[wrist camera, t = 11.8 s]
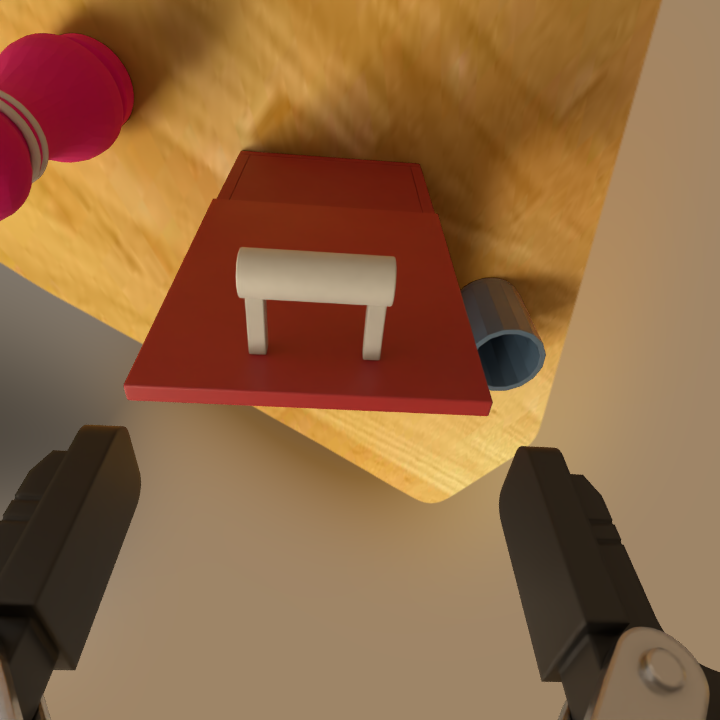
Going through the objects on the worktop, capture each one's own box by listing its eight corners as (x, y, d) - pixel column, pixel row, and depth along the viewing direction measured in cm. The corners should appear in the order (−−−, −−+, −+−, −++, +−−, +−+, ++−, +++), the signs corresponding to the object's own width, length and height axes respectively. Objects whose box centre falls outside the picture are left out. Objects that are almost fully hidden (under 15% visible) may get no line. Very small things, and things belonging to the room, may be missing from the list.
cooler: (395, 329, 50) (404, 399, 43) (251, 321, 50) (233, 391, 42) (419, 163, 41) (436, 216, 33) (240, 150, 40) (214, 201, 32)
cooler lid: (488, 416, 20) (526, 304, 17) (126, 400, 20) (91, 279, 16) (436, 225, 33) (451, 139, 30) (213, 210, 32) (204, 120, 29)
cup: (511, 267, 46) (537, 319, 40) (526, 322, 50) (551, 377, 44) (442, 291, 48) (456, 345, 42) (461, 343, 52) (477, 399, 45)
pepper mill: (29, 113, 38) (-193, 238, 22) (35, 2, 34) (-232, 61, 18) (133, 154, 40) (-6, 296, 24) (150, 54, 36) (-3, 147, 20)
